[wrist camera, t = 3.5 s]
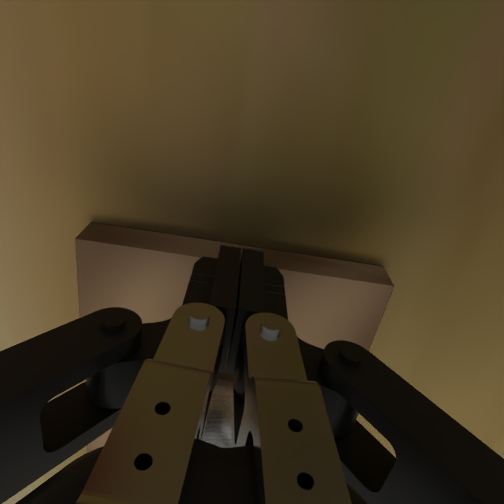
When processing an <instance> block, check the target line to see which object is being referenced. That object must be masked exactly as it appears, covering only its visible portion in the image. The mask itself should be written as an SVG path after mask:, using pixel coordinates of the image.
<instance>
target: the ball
mask: <svg viewBox="0 0 504 504" xmlns="http://www.w3.org/2000/svg"><path fill="white" fill-rule="evenodd" d="M232 388H233V382H231V381H227V380H222V379H217V384H216V386H215V387H214V389H213V394H212V399H211V403H210V408H209V412H208V416H207V421H206V425H205V429H204V434H203V438H202V440H203V441H205V442H208V443H210V444H213V445H216V446H218V447H222V448H231V393H232Z"/></svg>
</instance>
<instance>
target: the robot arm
mask: <svg viewBox="0 0 504 504" xmlns="http://www.w3.org/2000/svg"><path fill="white" fill-rule="evenodd" d="M240 257H241V260H240ZM228 349H229V352H228ZM227 355H228V363H227V373H230V374H234V383H233V388H232V393H231V448H222V447H218V446H216V445H213V444H210V443H208V442H205V441H203V440H202V438H203V434H204V429H205V425H206V421H207V416H208V412H209V408H210V403H211V399H212V394H213V389H214V387H215V386H216V384H217V379H218V373H219V372H222V373H224V371H225V366H226V360H227ZM85 379H86V382H84V383H82V384H80V385H78V386H77V387H75V388H73V389H71V390H69V391H68V392H66V393H64V394H62V395H60V396H59V397H57V398H55V399H53V400H51V401H50V402H48V401H49V400H50V399H52V398H53V397H55V396H56V395H58V394H60V393H62V392H64V391H65V390H67V389H69V388H71V387H73V386H75V385H76V384H78V383H80V382H82V381H84V380H85ZM47 402H48V403H47ZM359 413H360V414H361V415H362V416H363V417H364V418H365V419H366V420H367V421H368V422H369V423H370V424H371V425H372V426H373V427H374V428H375V429H376V430H378V431H379V432H380V433H381V434H382V435H383V436H384V437H385V438H386V439H387V440H388V441H389V442H390V443H391V445H392V446H393V448H394V450H395V453H396V458H395V457H394V456H393V455H392V454H391V453H390V452H389V451H388V450H387V449H386V448H385V447H384V446H383V445H382V444H381V443H380V442H379V441H378V440H377V439H376V438H375V437H374V436H372V435H371V434H370V433H369V432H368V431H367V430H366V429H365V428H364V427H363V426H362V425H361V424H360V423H359V422H358V421H357V420H356V418H357V416H358V414H359ZM111 428H112V430H111V432H110V434H109V436H108V438H107V440H106V443H105V445H104V446H103V447H100V448H97V449H95V450H93V451H91V452H88V453H86V454H84V455H83V456H81V457H79V458H78V459H76V460H74V461H73V462H71V463H70V464H68V465H67V466H66V467H64V468H63V469H62V470H60V471H59V472H58V473H56V474H55V475H53V476H52V477H51V478H49V479H48V480H47V481H45V482H44V483H43V484H41V485H40V486H39V487H37V488H36V489H35V490H33V491H32V492H30V493H29V494H28V495H26V496H25V497H24V498H22V499H21V500H20V501H18V502H17V503H16V504H504V459H503V458H502V457H501V456H499V455H498V454H497V453H496V452H494V451H493V450H492V449H491V448H489V447H488V446H487V445H486V444H484V443H483V442H482V441H481V440H479V439H478V438H477V437H476V436H474V435H473V434H472V433H471V432H469V431H468V430H467V429H466V428H464V427H463V426H462V425H460V424H459V423H458V422H457V421H455V420H454V419H453V418H452V417H450V416H449V415H448V414H447V413H445V412H444V411H443V410H442V409H440V408H439V407H438V406H437V405H435V404H434V403H433V402H432V401H430V400H429V399H428V398H427V397H425V396H424V395H423V394H422V393H420V392H419V391H418V390H417V389H415V388H414V387H413V386H412V385H410V384H409V383H408V382H406V381H405V380H404V379H403V378H401V377H400V376H399V375H398V374H396V373H395V372H394V371H393V370H391V369H390V368H389V367H388V366H386V365H385V364H384V363H383V362H381V361H380V360H379V359H378V358H376V357H375V356H374V355H373V354H371V353H370V352H369V351H368V350H366V349H365V348H363V347H362V346H360V345H358V344H356V343H353V342H350V341H345V340H336V341H332V342H330V343H328V344H327V345H326V347H325V349H321V348H319V347H316V346H314V345H311V344H309V343H306V342H305V341H303V340H301V339H300V338H298V337H297V335H296V331H295V328H294V326H293V325H292V324H291V323H290V322H289V321H288V314H287V304H286V295H285V287H284V277H283V275H282V274H281V273H280V271H279V270H278V269H277V268H276V267H270V266H264V251H258V250H252V249H245V248H243V250H242V255H241V248H238V247H232V246H226V245H220V250H219V255H218V258H211V257H205V256H203V257H201V258H200V259H199V260H198V261H196V262H195V263H194V267H193V270H192V273H191V277H190V281H189V283H188V287H187V290H186V294H185V297H184V300H183V304H182V306H180V307H179V308H177V309H176V310H175V312H174V314H173V316H172V318H170V319H167V320H165V321H160V322H153V323H142V320H141V318H140V316H139V315H138V314H137V313H135V312H134V311H132V310H130V309H126V308H121V307H110V308H104V309H100V310H98V311H95V312H93V313H90V314H88V315H86V316H83V317H81V318H79V319H76V320H74V321H71V322H69V323H67V324H64V325H62V326H60V327H57V328H55V329H52V330H50V331H48V332H45V333H43V334H41V335H38V336H36V337H33V338H31V339H29V340H26V341H24V342H22V343H19V344H17V345H14V346H12V347H10V348H7V349H5V350H3V351H0V504H2V503H3V502H5V501H6V500H8V499H9V498H11V497H12V496H14V495H15V494H16V493H18V492H19V491H21V490H22V489H24V488H25V487H27V486H28V485H30V484H31V483H32V482H34V481H35V480H37V479H38V478H40V477H41V476H43V475H44V474H46V473H47V472H49V471H50V470H51V469H53V468H54V467H56V466H57V465H59V464H60V463H62V462H63V461H65V460H66V459H68V458H69V457H70V456H72V455H73V454H75V453H76V452H78V451H79V450H81V449H82V448H84V447H85V446H86V445H88V444H89V443H91V442H92V441H94V440H95V439H97V438H98V437H100V436H101V435H103V434H104V433H105V432H107V431H108V430H110V429H111Z"/></svg>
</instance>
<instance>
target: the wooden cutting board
mask: <svg viewBox="0 0 504 504" xmlns="http://www.w3.org/2000/svg"><path fill="white" fill-rule="evenodd" d="M75 242H76V260H77V278H78V295H79V313H80V318H81V317H83V316H86V315H88V314H90V313H93V312H95V311H98V310H100V309H104V308H110V307H121V308H126V309H130V310H132V311H134V312H135V313H137V314H138V315H139V316H140V318H141V320H142V323H153V322H160V321H165V320H167V319H170V318H172V316H173V314H174V312H175V310H176V309H177V308H179V307H180V306H182V304H183V300H184V297H185V294H186V290H187V287H188V283H189V281H190V277H191V273H192V270H193V267H194V263H195V262H196V261H198V260H199V259H200V258H201V257H203V256H205V257H211V258H218V255H219V250H220V245H226V246H232V247H238V248H241V255H242V250H243V248H245V249H252V250H258V251H264V266H270V267H276V268H277V269H278V270H279V271H280V273H281V274H282V275H283V277H284V287H285V295H286V304H287V314H288V321H289V322H290V323H291V324H292V325H293V326H294V328H295V331H296V335H297V337H298V338H300V339H301V340H303V341H305V342H306V343H309V344H311V345H314V346H316V347H319V348H321V349H325V347H326V345H327V344H328V343H330V342H332V341H336V340H345V341H350V342H353V343H356V344H358V345H360V346H362V347H363V348H365V349H366V350H368V351H369V348H370V346H371V343H372V341H373V338H374V336H375V333H376V331H377V328H378V326H379V323H380V321H381V318H382V316H383V313H384V311H385V308H386V306H387V303H388V301H389V298H390V296H391V293H392V291H393V288H394V285H393V283H392V281H391V280H390V278H389V276H388V274H387V272H386V271H385V269H384V267H383V266H377V265H370V264H363V263H357V262H350V261H344V260H337V259H330V258H324V257H317V256H311V255H304V254H297V253H291V252H284V251H278V250H271V249H264V248H258V247H251V246H245V245H238V244H231V243H225V242H218V241H212V240H205V239H198V238H192V237H185V236H179V235H172V234H165V233H159V232H152V231H146V230H139V229H132V228H126V227H119V226H113V225H106V224H99V223H93V222H91V223H90V224H89V225H88V226H87V227H86V228H85V229H84V230H83V231H82V232H81V233H80V234H79V235H78V236H77V237H76V239H75ZM240 260H241V257H240ZM228 352H229V349H228ZM227 363H228V355H227V360H226V366H225V371H224V373H222V372H219V373H218V379H222V380H227V381H231V382H233V383H234V374H230V373H227ZM84 382H86V379H85V380H84V381H83V383H84ZM111 430H112V428H111V429H110V430H108V431H107V432H105V433H104V434H103V435H101V436H100V437H98V438H97V439H95V440H94V441H92V442H91V443H89V444H88V445H87V453H88V452H91V451H93V450H95V449H97V448H100V447H103V446H104V445H105V443H106V440H107V438H108V436H109V434H110V432H111Z"/></svg>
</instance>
